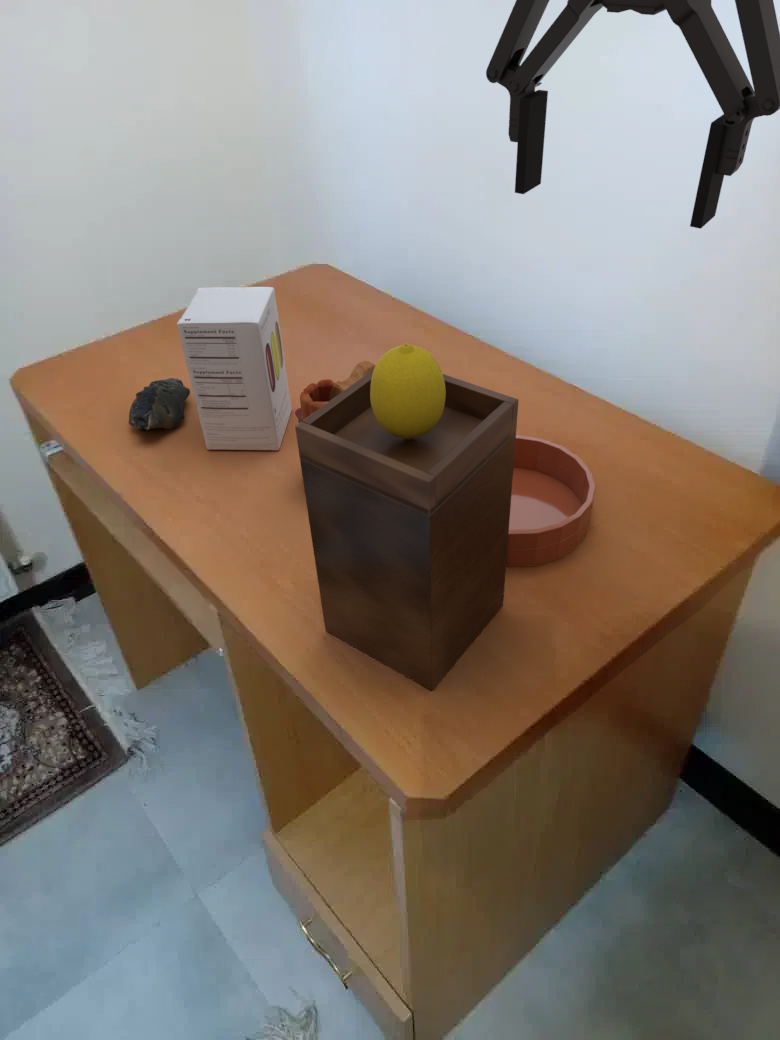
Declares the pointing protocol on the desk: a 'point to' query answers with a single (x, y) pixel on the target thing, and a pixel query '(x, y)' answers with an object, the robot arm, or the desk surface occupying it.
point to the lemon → (407, 391)
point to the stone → (159, 405)
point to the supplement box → (237, 367)
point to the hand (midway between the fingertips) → (610, 204)
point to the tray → (408, 442)
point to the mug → (328, 390)
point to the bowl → (547, 502)
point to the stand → (411, 566)
